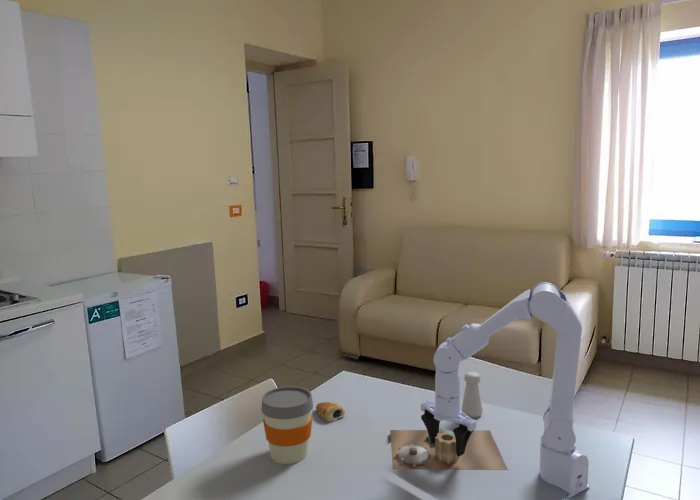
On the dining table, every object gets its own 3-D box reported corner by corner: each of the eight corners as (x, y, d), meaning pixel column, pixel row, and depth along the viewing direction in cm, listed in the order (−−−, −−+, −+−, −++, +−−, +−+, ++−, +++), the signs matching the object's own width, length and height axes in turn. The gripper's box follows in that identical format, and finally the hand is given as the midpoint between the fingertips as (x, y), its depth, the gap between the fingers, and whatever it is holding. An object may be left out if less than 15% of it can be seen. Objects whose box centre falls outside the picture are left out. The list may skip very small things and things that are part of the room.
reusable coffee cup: (321, 444, 131) (319, 388, 129) (304, 471, 119) (302, 410, 117) (276, 438, 134) (273, 383, 132) (254, 464, 122) (251, 405, 120)
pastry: (310, 412, 149) (309, 400, 148) (329, 406, 153) (328, 393, 153) (328, 424, 142) (328, 411, 141) (348, 417, 146) (348, 404, 145)
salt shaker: (480, 413, 146) (481, 369, 144) (484, 422, 140) (485, 377, 139) (460, 412, 147) (460, 369, 145) (462, 422, 141) (463, 377, 139)
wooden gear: (463, 457, 121) (463, 437, 121) (449, 466, 118) (449, 446, 117) (444, 448, 125) (444, 429, 125) (430, 457, 122) (430, 437, 121)
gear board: (489, 434, 134) (490, 417, 133) (507, 474, 116) (508, 455, 116) (390, 434, 135) (390, 417, 135) (393, 473, 117) (392, 454, 117)
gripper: (412, 389, 122) (412, 442, 124) (463, 409, 111) (462, 467, 113) (431, 381, 127) (431, 432, 129) (481, 399, 116) (480, 455, 118)
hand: (447, 448), depth 121 cm, fingers open, 7 cm apart
